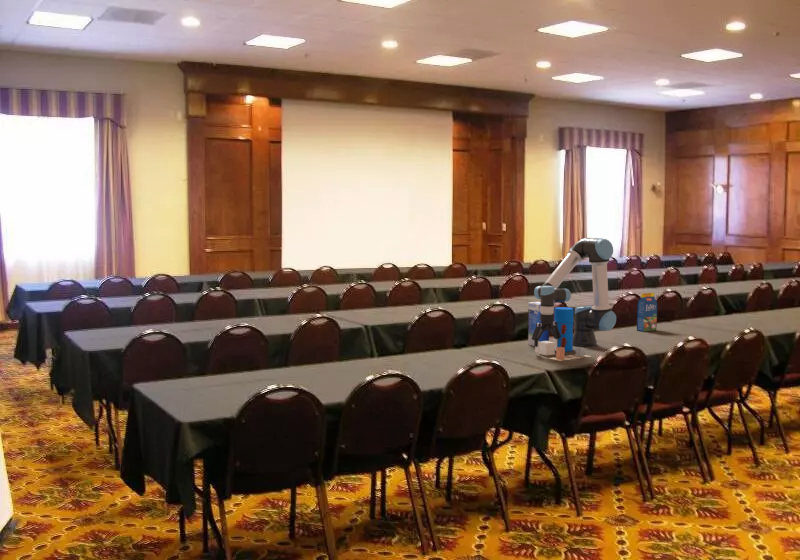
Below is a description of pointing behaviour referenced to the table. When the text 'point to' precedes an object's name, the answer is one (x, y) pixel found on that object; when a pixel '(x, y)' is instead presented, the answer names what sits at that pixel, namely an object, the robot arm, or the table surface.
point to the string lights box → (533, 319)
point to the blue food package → (647, 312)
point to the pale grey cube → (580, 352)
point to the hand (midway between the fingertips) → (546, 351)
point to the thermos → (565, 327)
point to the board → (569, 357)
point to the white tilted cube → (546, 348)
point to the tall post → (560, 352)
